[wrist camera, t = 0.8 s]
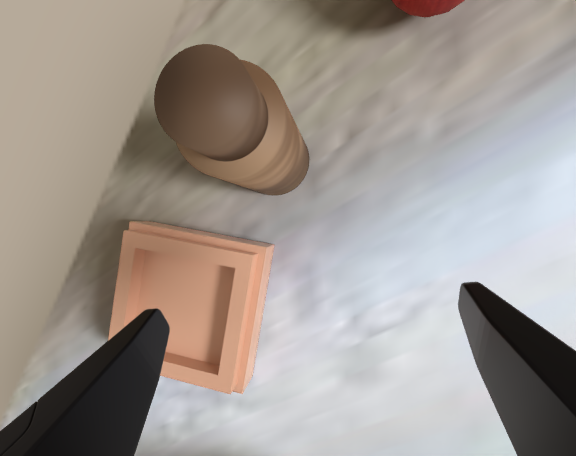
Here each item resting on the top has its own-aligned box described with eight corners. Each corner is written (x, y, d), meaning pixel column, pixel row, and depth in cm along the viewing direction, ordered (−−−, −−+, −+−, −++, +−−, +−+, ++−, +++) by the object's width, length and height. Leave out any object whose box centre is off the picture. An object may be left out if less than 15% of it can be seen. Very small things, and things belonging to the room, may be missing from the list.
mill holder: (252, 376, 24) (236, 403, 21) (132, 345, 26) (97, 366, 22) (274, 244, 24) (262, 249, 20) (150, 221, 25) (118, 221, 22)
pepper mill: (302, 200, 23) (259, 178, 11) (236, 189, 24) (127, 158, 12) (314, 130, 23) (283, 29, 11) (247, 122, 24) (147, 18, 12)
